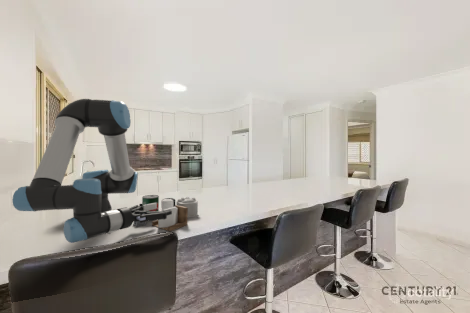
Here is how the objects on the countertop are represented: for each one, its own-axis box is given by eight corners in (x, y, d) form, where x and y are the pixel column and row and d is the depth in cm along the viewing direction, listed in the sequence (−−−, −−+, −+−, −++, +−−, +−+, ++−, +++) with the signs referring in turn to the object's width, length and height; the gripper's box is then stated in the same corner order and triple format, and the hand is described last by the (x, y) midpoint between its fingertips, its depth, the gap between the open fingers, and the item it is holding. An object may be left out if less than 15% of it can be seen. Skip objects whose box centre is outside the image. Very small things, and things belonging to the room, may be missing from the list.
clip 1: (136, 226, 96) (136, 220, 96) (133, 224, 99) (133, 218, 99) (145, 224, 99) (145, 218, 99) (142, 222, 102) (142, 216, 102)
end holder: (152, 225, 98) (152, 207, 98) (170, 219, 106) (170, 203, 106) (169, 231, 91) (169, 212, 91) (187, 224, 99) (187, 207, 99)
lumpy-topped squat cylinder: (180, 218, 109) (180, 201, 109) (173, 212, 120) (174, 196, 120) (199, 215, 114) (199, 199, 114) (192, 210, 125) (192, 195, 125)
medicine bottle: (162, 222, 101) (162, 197, 101) (177, 222, 101) (178, 197, 101) (157, 227, 94) (158, 200, 94) (174, 227, 94) (174, 200, 94)
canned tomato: (153, 220, 105) (153, 198, 104) (138, 219, 106) (138, 197, 106) (161, 216, 112) (161, 195, 112) (148, 215, 114) (148, 194, 114)
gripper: (101, 223, 85) (148, 211, 103) (137, 237, 72) (185, 221, 89) (101, 204, 85) (148, 196, 103) (137, 214, 71) (185, 203, 89)
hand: (165, 207), depth 96 cm, fingers open, 13 cm apart
